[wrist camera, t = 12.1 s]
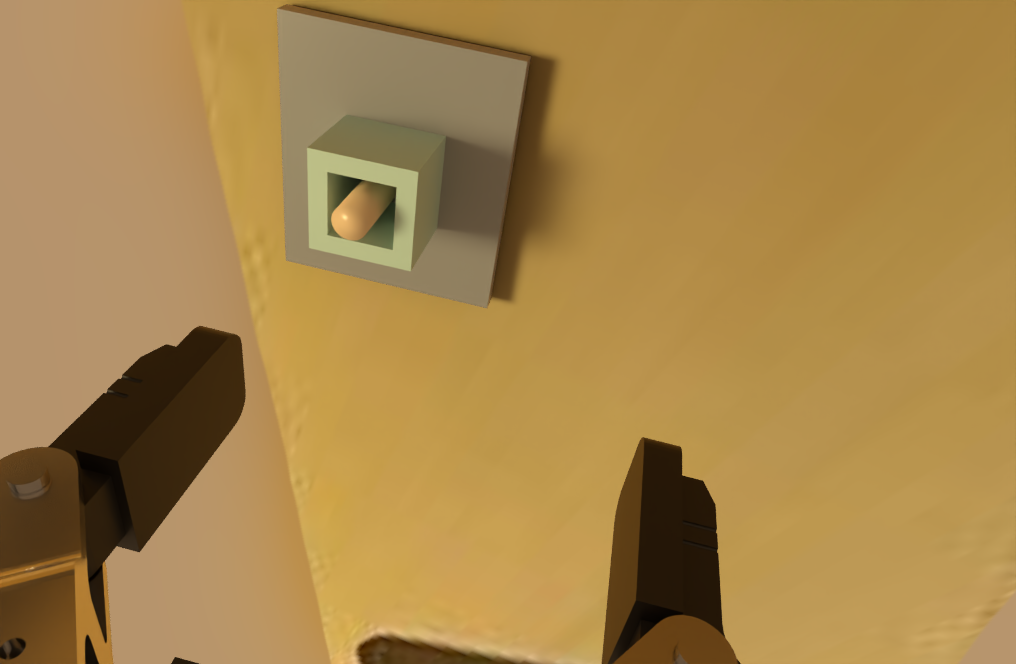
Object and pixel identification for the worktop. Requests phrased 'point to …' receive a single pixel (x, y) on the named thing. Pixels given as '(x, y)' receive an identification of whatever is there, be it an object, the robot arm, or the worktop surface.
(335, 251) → the collar
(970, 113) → the worktop surface
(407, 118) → the board
